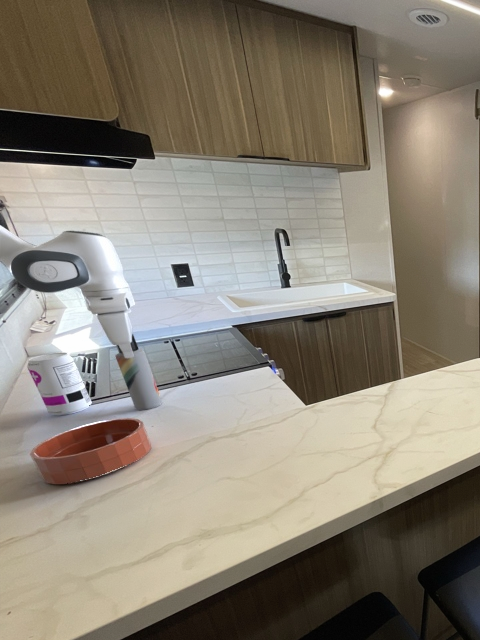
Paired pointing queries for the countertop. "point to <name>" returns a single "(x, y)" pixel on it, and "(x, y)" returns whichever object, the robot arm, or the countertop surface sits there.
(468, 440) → the countertop surface
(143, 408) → the lotion bottle
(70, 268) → the robot arm
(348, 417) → the countertop surface
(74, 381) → the supplement can
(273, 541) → the countertop surface
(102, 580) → the countertop surface
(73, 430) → the bowl
